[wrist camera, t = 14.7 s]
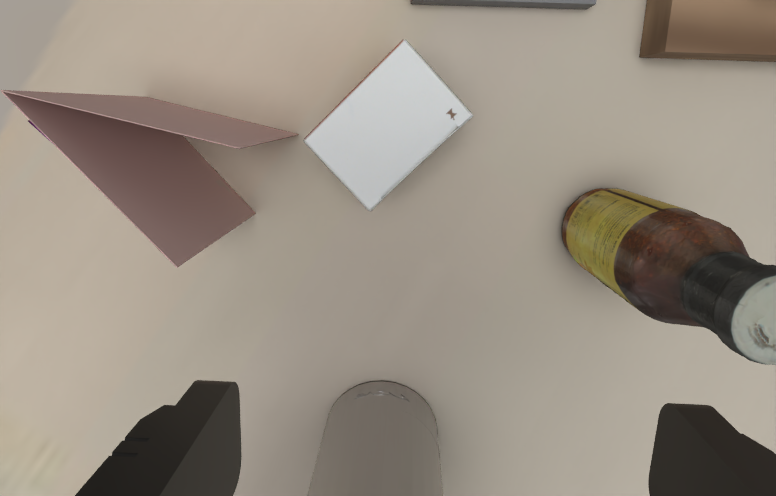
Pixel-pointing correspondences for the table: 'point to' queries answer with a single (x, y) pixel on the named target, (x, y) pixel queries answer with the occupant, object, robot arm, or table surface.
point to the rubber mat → (514, 3)
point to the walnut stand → (710, 30)
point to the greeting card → (150, 161)
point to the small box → (387, 125)
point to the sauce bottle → (676, 267)
